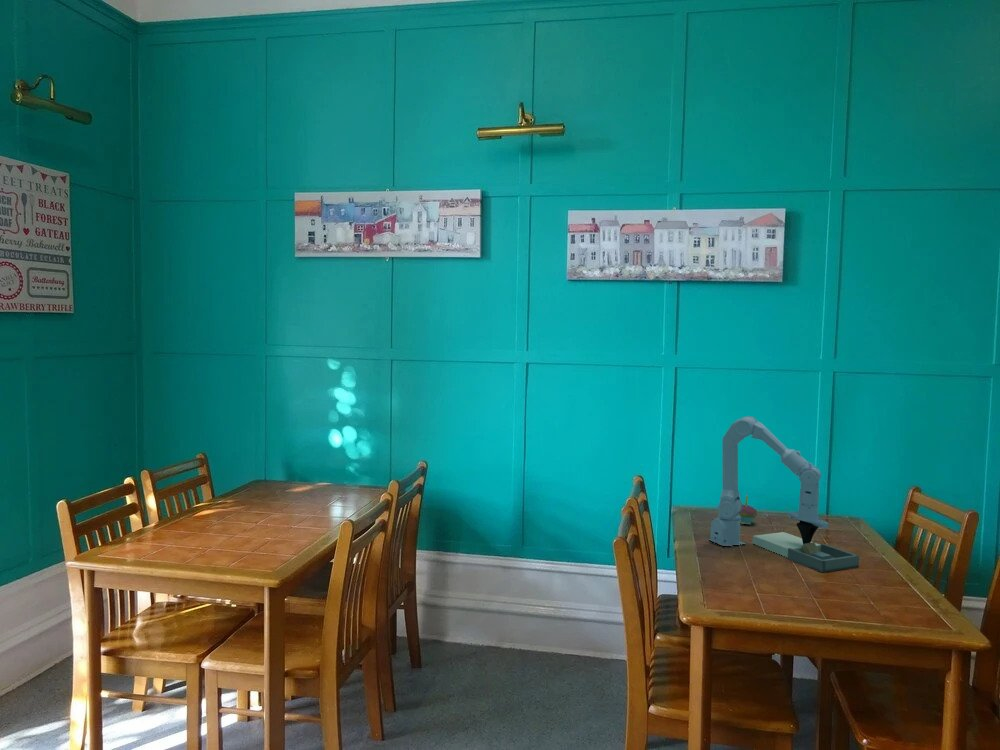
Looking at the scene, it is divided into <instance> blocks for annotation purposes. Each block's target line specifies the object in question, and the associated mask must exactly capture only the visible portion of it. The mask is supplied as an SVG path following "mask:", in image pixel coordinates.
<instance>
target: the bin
mask: <svg viewBox="0 0 1000 750" xmlns="http://www.w3.org/2000/svg"><path fill="white" fill-rule="evenodd" d="M820 545H821V552H823V553H826V554H829V555H831V559H825V560H822V559H819V558H816V557H813V556H811V555H808V554H805V553H803V552H800V551H797V550H795V549H792V548H788V558H787V560H789V561H792V562H794V563H797V564H800V565H803V566H805V567H807V568H810V569H813V570H815V571H817V572H820V573H827V572H834V571H835V572H836V571H840V570H848V569H853V568H859V567H860V565H859V564H860V555H858V554H856V553H852V552H850V551H847V550H843V549H841V548H838V547H835V546H831V545H829V544H825V543H821V544H820Z"/></svg>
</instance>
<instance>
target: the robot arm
mask: <svg viewBox="0 0 1000 750" xmlns="http://www.w3.org/2000/svg"><path fill="white" fill-rule="evenodd" d="M749 436H751V439H755V440H756V439H757V440H761V441H762V442H763V443H765V444H766V445H767V446H768V447H770V448H771V449H772V450H773V451H774V452H775V453H777V454H778V455H779V456H780V462H781V463H782V464H783V465H784V466H786V468H788V469H789V470H790V471H791V472H792V473H793V474H794V475H795V476H797V477H798V480H799V483H800V489H799V502H798V512H795V511H788V513H787V516H788V517H787V518H788V519H794V520H796V521H799V522H796V527H797V529H798V530H799V533H800V538H802V541H803V545H804V544H805V543H811V542H812V540H813V537H814V534H815V533H816V531H817V530H818V529H819V528H821V529H822V530H827V529H829V525H830V523H829V522H828V521H825V520H823V519H821V518H820V516H819V501H820V480H821V478H822V473H821V471H820V469H819V468H818V467H817V466H816V465H813V463H812V462H809V461H807V459H806V458H804V457H803V456H802V455H801V454H802V453H801V452H800V450H797V451H796V450H795V449H792V448H791V449H790V448H787V446H786V445H785V444H784V443H782V441H780V440H779V438H777V437H776V436H775V435H774V434H773V433H772V432H771V431H770V429H768V428H767V427H766V426H765V425H764V424H763V423H762V422H760V421H758V420H757V418H755V417H753V416H750V415H746V416H743V417H742V418H737V420H735V421H734V422H732V423H731V424H730V426H729V428H728V430H727V431H726V432H725V434H724V435H723V436H722V450H721V451H722V489H721V494H720V499H719V502H718V505H717V512H718V517H717V518H714V519H713V520H712V521H711V523H710V538H709V540H711V541H713V542H716V543H718V544H720V545H727V546H728V545H729V546H731V547H733V546H732V545H739V546H743V545H742V544H745V545H746V543H745V542H743V541H740V539H741V524H740V523H741V517H740V515H739V512H740V511H741V510H742V505H743V502H742V500H741V497H740V495H741V494H740V491H739V449H738V448H739V443H741V442H742V441H743V440H744V439H745V438H747V437H749ZM740 544H741V545H740Z"/></svg>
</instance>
